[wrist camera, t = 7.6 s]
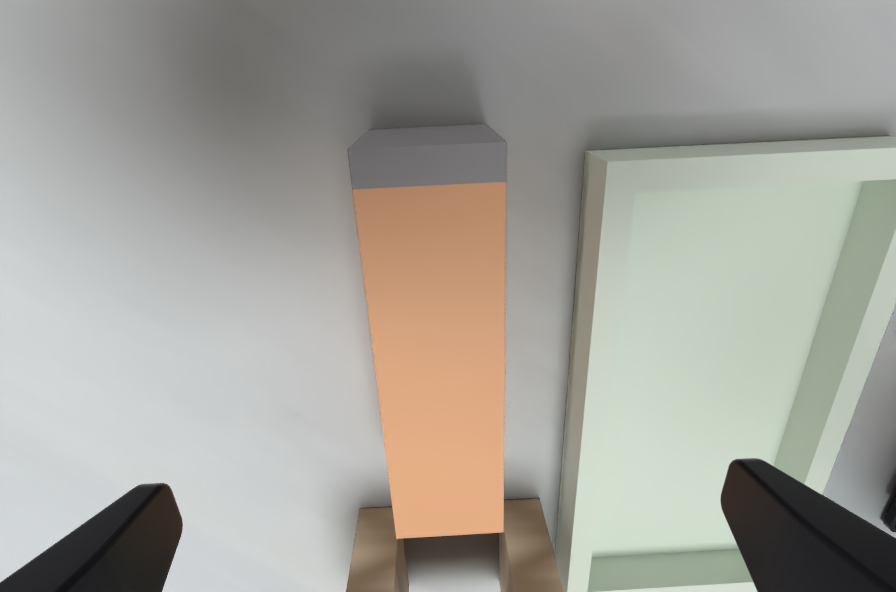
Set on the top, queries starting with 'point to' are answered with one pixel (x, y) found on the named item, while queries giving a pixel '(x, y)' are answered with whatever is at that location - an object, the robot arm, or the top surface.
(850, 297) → the tray
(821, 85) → the top surface
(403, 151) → the orange rectangular block
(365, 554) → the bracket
